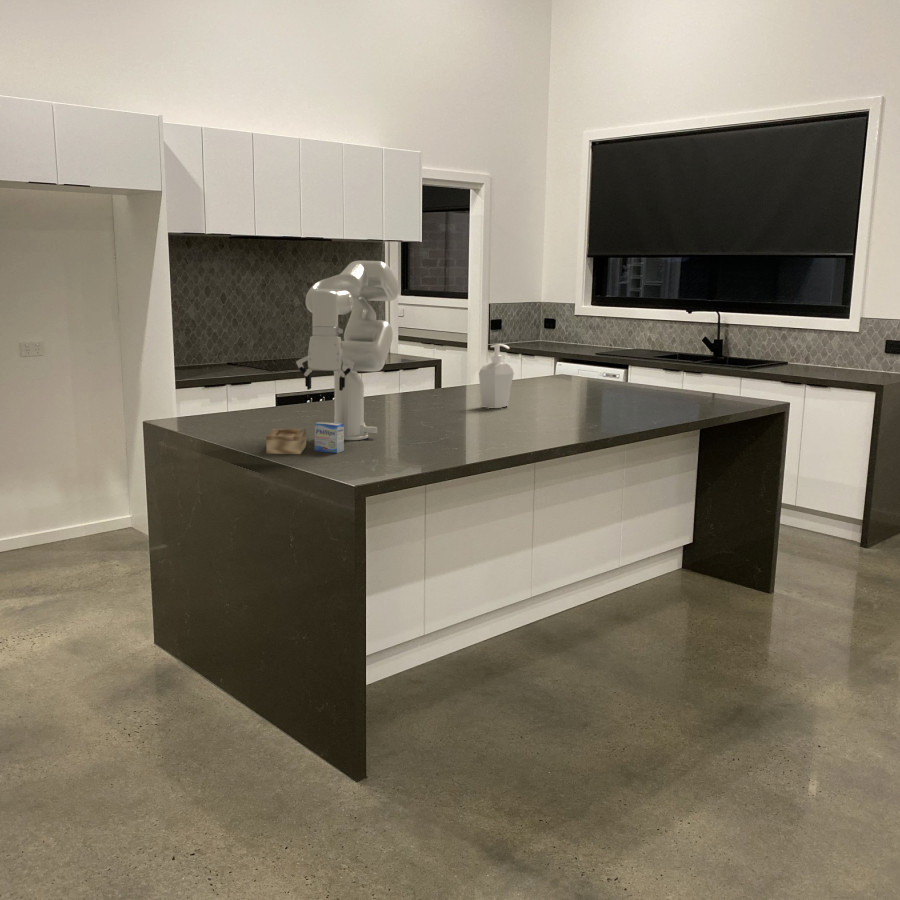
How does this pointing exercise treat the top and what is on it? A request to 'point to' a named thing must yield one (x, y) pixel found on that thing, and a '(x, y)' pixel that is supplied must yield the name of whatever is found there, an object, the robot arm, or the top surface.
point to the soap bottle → (496, 380)
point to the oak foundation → (286, 441)
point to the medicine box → (329, 437)
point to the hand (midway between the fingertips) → (325, 389)
